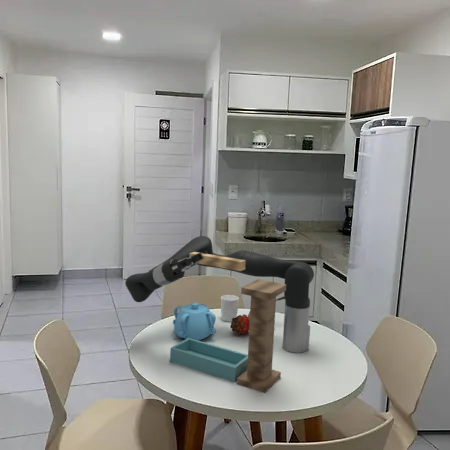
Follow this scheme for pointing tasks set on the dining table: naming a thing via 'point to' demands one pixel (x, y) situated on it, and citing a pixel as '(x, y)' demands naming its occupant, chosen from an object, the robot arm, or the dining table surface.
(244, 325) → the dragon fruit
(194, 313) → the decorative pot
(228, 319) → the white cup
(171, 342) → the dining table surface
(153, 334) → the dining table surface
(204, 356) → the tray
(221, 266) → the bar
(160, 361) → the dining table surface
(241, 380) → the stand
